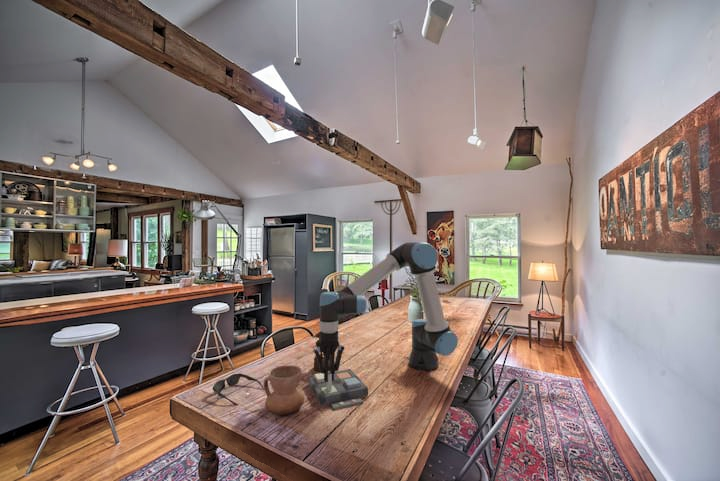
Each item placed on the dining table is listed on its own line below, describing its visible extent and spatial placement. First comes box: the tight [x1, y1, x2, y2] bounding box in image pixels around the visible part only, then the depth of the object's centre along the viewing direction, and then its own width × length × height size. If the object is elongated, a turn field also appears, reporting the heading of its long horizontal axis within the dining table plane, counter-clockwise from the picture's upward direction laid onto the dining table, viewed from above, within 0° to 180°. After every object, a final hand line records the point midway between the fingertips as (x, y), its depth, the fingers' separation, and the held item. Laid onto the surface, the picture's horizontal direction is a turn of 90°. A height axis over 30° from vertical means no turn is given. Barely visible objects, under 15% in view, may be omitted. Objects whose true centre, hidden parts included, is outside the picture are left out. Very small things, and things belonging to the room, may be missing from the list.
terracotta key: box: [336, 372, 352, 379], centre depth 134 cm, size 6×6×2 cm
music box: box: [311, 331, 335, 374], centre depth 150 cm, size 15×11×20 cm
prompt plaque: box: [330, 398, 364, 411], centre depth 116 cm, size 12×3×1 cm, turn 113°
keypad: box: [307, 368, 369, 408], centre depth 127 cm, size 20×20×4 cm
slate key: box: [344, 377, 361, 389], centre depth 125 cm, size 6×6×2 cm
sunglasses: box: [212, 373, 265, 406], centre depth 125 cm, size 16×17×5 cm
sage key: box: [321, 385, 338, 394], centre depth 121 cm, size 6×6×2 cm
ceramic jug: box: [263, 365, 306, 416], centre depth 114 cm, size 18×14×14 cm
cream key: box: [314, 372, 325, 383], centre depth 130 cm, size 6×6×2 cm
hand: (328, 388), depth 121 cm, fingers closed
